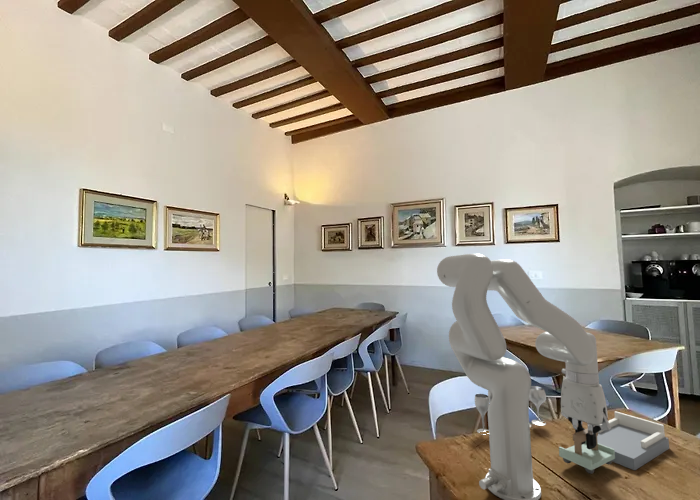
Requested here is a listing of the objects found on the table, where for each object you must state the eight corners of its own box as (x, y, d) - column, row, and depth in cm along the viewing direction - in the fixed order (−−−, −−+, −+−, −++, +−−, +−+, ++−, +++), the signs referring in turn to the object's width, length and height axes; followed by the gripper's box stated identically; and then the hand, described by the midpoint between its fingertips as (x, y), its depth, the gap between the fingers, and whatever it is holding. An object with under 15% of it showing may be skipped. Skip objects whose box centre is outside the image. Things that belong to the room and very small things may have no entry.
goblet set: (483, 436, 111) (480, 395, 112) (472, 429, 117) (470, 389, 118) (552, 425, 118) (549, 386, 119) (538, 418, 124) (536, 381, 125)
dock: (634, 470, 90) (632, 445, 91) (578, 448, 102) (576, 425, 103) (669, 448, 101) (667, 425, 101) (614, 430, 113) (613, 410, 113)
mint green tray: (591, 477, 86) (589, 442, 87) (559, 462, 93) (558, 430, 94) (615, 464, 92) (613, 432, 92) (583, 451, 99) (581, 422, 99)
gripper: (546, 372, 99) (549, 437, 98) (607, 386, 86) (612, 463, 84) (560, 368, 103) (564, 431, 101) (622, 382, 89) (627, 455, 87)
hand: (586, 445), depth 93 cm, fingers closed on mint green tray
